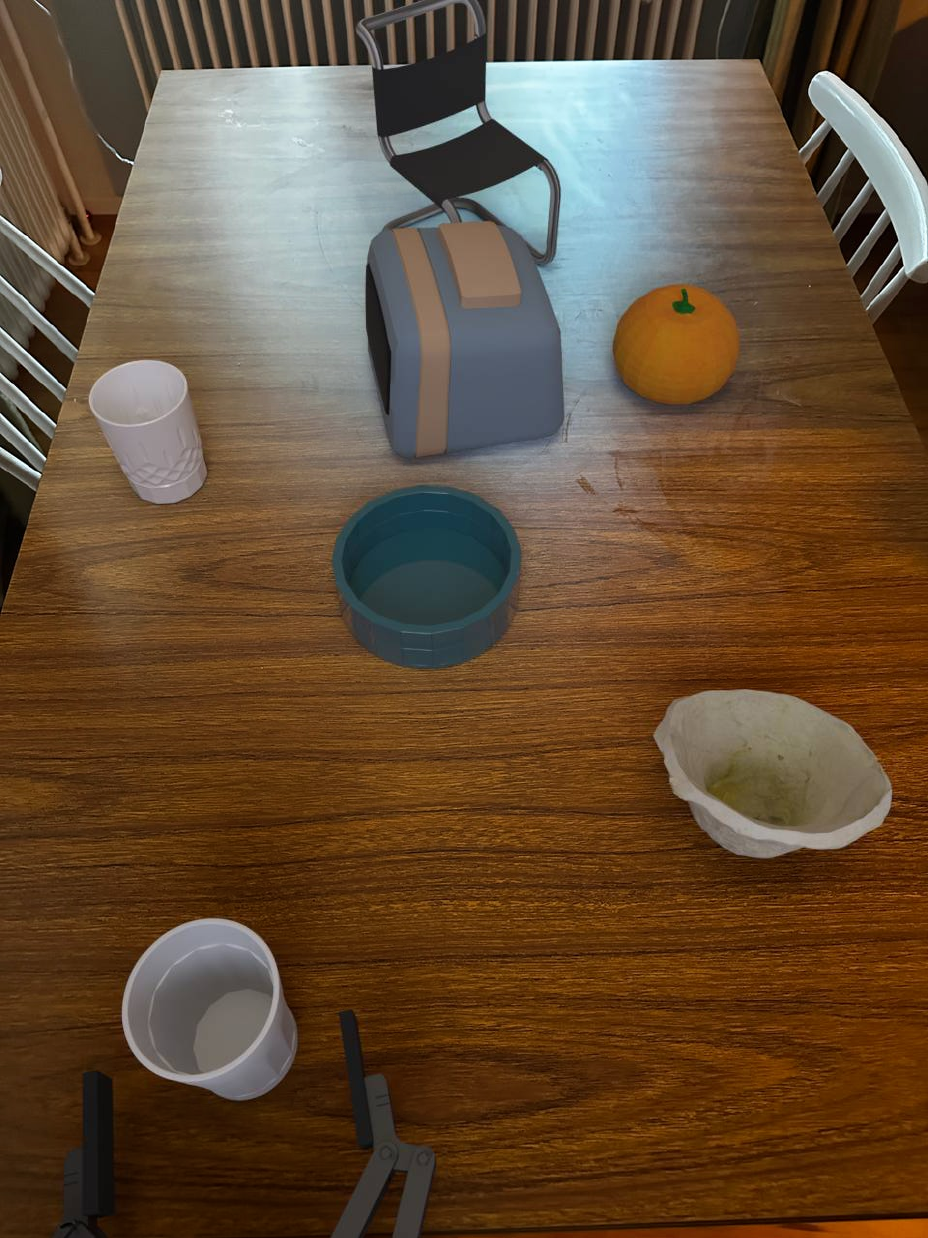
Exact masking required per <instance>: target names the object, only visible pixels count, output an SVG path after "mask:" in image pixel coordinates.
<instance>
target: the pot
mask: <svg viewBox="0 0 928 1238" xmlns="http://www.w3.org/2000/svg"><path fill="white" fill-rule="evenodd" d="M521 564H522V547H521V545H520V542H519V538H518V536H517V532H516V530H515V527H514V526H513V525H512V523H511V522H510V521H509V519H507V517H506V516H505V515H504V514H503V513H502V511H501V510H500V509H499V508H497V507H496V506H494V505H493V504H492V503H490V502H488V501H486V500H485V499H483V498H482V497H480V496H479V495H477V494H475V493H471V492H469V491H465V490H462V489H459V488H456V487H453V486H443V485H442V486H441V485H425V484H423V485H422V484H421V485H415V486H408V487H403V488H397V489H394V490H391V491H389V492H387V493H385V494H382V495H381V496H380V495H379V496H378V497H376V498H373V499H371V500H368V502H366V503H365V504H364V505H363V506H362V507H360V508H359V509H358V510H357V511H355V512H354V513H353V514H351V515H350V516H349V518H348V519H347V520H346V522H345V524H344V525H343V527H342V528H341V529H340V532H339V533H338V534H337V536H336V538H335V542H334V547H333V552H332V557H331V566H332V572H333V577H334V581H335V587H336V592H337V597H338V603H339V608H340V613H341V618H342V619H343V622H344V624H345V626H346V629H348V631H349V633H350V634H351V635H352V637H353V638H354V639H355V640H356V641H357V642H358V643H359V644H360V646H362V647H363V648H364V649H365V650H366V651H368V652H369V653H371V654H373V655H374V656H376V657H378V658H380V659H382V660H384V661H386V662H388V663H391V664H393V665H394V664H395V665H398V666H400V667H406V668H410V669H420V670H421V669H422V670H431V669H441V668H449V667H452V666H457V665H460V664H463V663H466V662H468V661H471V660H473V659H475V658H476V657H479V656H480V655H482V654H483V653H486V651H488V650H490V649H491V648H493V646H494V645H496V643H497V642H499V641H500V639H501V638H502V637H503V636H504V635H505V634H506V632H507V631H508V630H509V628H510V626H511V624H512V622H513V620H514V618H515V615H516V613H517V612H516V611H517V609H518V605H519V593H520V591H519V590H520V581H521V580H520V578H521Z"/></svg>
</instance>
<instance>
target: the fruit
mask: <svg viewBox="0 0 928 1238" xmlns="http://www.w3.org/2000/svg"><path fill="white" fill-rule="evenodd" d="M740 346H741V336H740V332H739V329H738V325H737V323H736V320H735V318H734V315H733V314H732V313H731V311H730V310H729V309H728V308H727V306H726V305H725V304H724V303H723V301H721V300H720V298H718V297H717V296H715V295H713V293H711V292H709V291H708V290H706V289H705V288H704V289H703V288H701V287H698V286H696V285H690V284H682V283H681V284H680V283H679V284H669V285H665V286H661V287H657V288H655V289H653V290H651V291H649V292H647V293H646V294H643V295H642V296H640V297H638V298H637V299H636V300H634V301H633V302H632V304H630V306H629V307H628V308H627V309H626V310H625V311H624V312H623V314H622V315H621V316H620V318H619V320H618V322H617V324H616V329H615V332H614V336H613V340H612V347H611V348H612V355H613V359H614V360H613V361H614V366H615V369H616V371H617V373H618V375H619V376H620V378H621V379H622V381H623V382H624V384H625V385H626V386H627V387H628V388H629V389H630V390H631V391H633V392H635V393H636V394H637V395H638V396H640V397H641V398H644V399H647V400H649V401H651V402H653V403H657V404H664V405H669V406H675V405H676V406H679V405H690V404H692V403H697V402H699V401H704V400H706V399H708V398H709V397H710V396H712V395H714V394H715V393H717V392H718V391H719V390H720V389H721V388H723V386H724V385H725V384H726V382H727V381H728V380H729V379H730V377H731V376H732V375H733V373H734V371H735V369H736V366H737V363H738V359H739V355H740V354H739V353H740Z"/></svg>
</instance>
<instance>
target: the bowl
mask: <svg viewBox="0 0 928 1238" xmlns="http://www.w3.org/2000/svg"><path fill="white" fill-rule="evenodd" d="M653 739H654V741H655V743H656V744H657V746H658V749H659V751H660V752H661V754H662V756H663V758H664V760H663V763H664V766H665V768H666V770H667V772H668V779H669V780H668V781H669V786H670V788H671V790H672V792H673V794H674V795H675V796H677V797H678V798H679V799H682V800H683V801H687V803H688V806H689V809H690V812H691V814H692V816H693V818H694V820H695V822H696V823H697V825H698V826H699V828H700V829H701V831H703V832H704V831H705V833H707V835H708V837H710V839H712V840H714V842H716V843H717V844H719V845H720V846H721V847H722V848H723V849H724V850H727V851H728V852H731V853H733V854H735V855H737V856H746V857H751V858H755V859H756V858H757V859H773V858H775V857H779V856H781V855H784V854H788V853H790V852H794V851H798V850H800V849H803V848H804V849H805V848H806V849H812V850H838V849H841V848H845V847H847V846H848V845H849V844H851V843H853V842H855V841H857V840H859V839H860V838H862V837H863V836H864V835H865V834H867V833H869V832H871V831H873V830H875V829H876V828H878V827H880V826H882V824H883V823H884V821H885V818H886V817H887V816H888V814H889V812H890V810H891V807H892V798H893V786H892V783H891V780H890V778H889V776H888V774H887V773H886V772H885V771H884V769H883V765H882V764H881V763H880V762H878V758H877V756H876V755H875V753H874V752H873V751H872V749H871V748H870V747H869V746H868V744H867V743H866V742H865V741H864V740H863V738H862V737H861V736H860V734H858V733H857V732H856V731H855V729H854V727H853V726H851V725H850V724H849V723H847V722H846V721H844V720H842V719H840V718H839V717H836V716H834V715H833V714H830V713H829V712H827V711H825V710H823V709H821V708H819V707H818V706H815V705H813V704H811V703H809V702H808V701H806V700H804V699H801V698H798V697H796V696H793V695H790V694H786V693H776V692H772V691H764V690H753V689H746V688H743V689H729V690H728V689H727V690H724V689H722V690H721V689H720V690H719V689H717V690H716V689H715V690H714V689H713V690H712V689H711V690H709V689H708V690H705V691H700V692H697V693H694V694H692V695H686V696H682V697H681V698H676V699H673V700H672V701H671V703H670V704H669V705H668V706H667V708H666V711H665V715H664V717H663V719H662V720H661V722H660V723H659V724H658V725H657V727H656V729H655V731H654V732H653Z"/></svg>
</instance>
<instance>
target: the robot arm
mask: <svg viewBox="0 0 928 1238" xmlns="http://www.w3.org/2000/svg"><path fill="white" fill-rule="evenodd" d="M338 1016H339V1024H340V1030H341V1037H342V1044H343V1052H344V1058H345V1066H346V1071H347V1079H348V1085H349V1093H350V1099H351V1100H350V1101H351V1106H352V1113H353V1120H354V1126H355V1133H356V1140H357V1146H358V1147H359V1148H360V1149H361V1150H362V1151H363V1152H364V1151H367V1150H371V1149H373V1152H372V1154H371V1156H370V1158H369V1160H368V1161H367V1164H366V1166H365V1168H364V1170H363V1171H362V1173H361V1176H360V1178H359V1180H358V1181H357V1184H356V1186H355V1188H354V1190H353V1192H352V1194H351V1196H350V1198H349V1200H348V1202H347V1204H346V1206H345V1208H344V1210H343V1212H342V1214H341V1216H340V1218H339V1219H338V1222H337V1224H336V1225H335V1228H334V1230H333V1231H332V1233H331V1235H330V1238H365V1236H366V1235H367V1232H368V1230H369V1228H370V1225H371V1224H372V1221H373V1219H374V1218H375V1215H376V1213H377V1211H378V1209H379V1207H380V1206H381V1203H382V1201H383V1199H384V1196H385V1195H386V1193H387V1190H388V1189H389V1187H390V1184H391V1182H392V1180H393V1178H394V1176H395V1175H396V1173H402V1174H406V1178H405V1182H404V1183H405V1184H404V1187H403V1191H402V1196H401V1199H400V1202H399V1203H400V1204H399V1207H398V1211H397V1215H396V1221H395V1224H394V1228H393V1231H392V1232H393V1233H392V1236H391V1238H421V1236H422V1233H423V1232H422V1231H423V1226H424V1222H425V1218H426V1215H427V1214H426V1213H427V1209H428V1206H429V1201H430V1196H431V1191H432V1188H433V1183H434V1178H435V1175H436V1174H435V1173H436V1169H437V1161H438V1160H437V1159H436V1155H435V1152H434V1150H433V1149H432V1148H431V1147H430V1146H428V1145H423V1144H422V1145H418V1144H410V1143H406V1142H403V1141H401V1140H400V1138H399V1137H398V1134H397V1128H396V1123H395V1116H394V1110H393V1105H392V1099H391V1093H390V1087H389V1084H388V1081H387V1079H386V1078H385V1077H384V1075H383V1073H382V1072H380V1073H376V1074H371V1075H368V1076H367V1074H366V1068H365V1062H364V1054H363V1049H362V1042H361V1035H360V1030H359V1029H360V1028H359V1022H358V1019H357V1016H356V1014H355V1011H354V1009H353V1008H352V1009H347V1010H343V1011H339V1012H338ZM81 1094H82V1096H81V1097H82V1100H81V1101H82V1103H81V1105H82V1106H81V1107H82V1108H81V1109H82V1111H81V1112H82V1115H81V1117H82V1123H81V1124H82V1126H81V1127H82V1131H81V1132H82V1133H81V1135H82V1137H81V1138H82V1141H81V1143H82V1146H81V1147H78V1148H72V1149H69V1150H67V1151H66V1154H65V1157H64V1160H63V1169H62V1170H63V1172H62V1173H63V1178H62V1180H63V1183H62V1184H63V1187H62V1219H61V1222H60V1223H59V1224H58V1225H57V1226H56V1227H55V1230H54V1233H53V1234H52V1235H51V1236H49V1237H48V1238H110V1237H109V1236H108V1235H107V1234H106V1233H105V1232H104V1231H103V1229H102V1228H101V1227H100V1226H99V1225H98V1219H103V1218H107V1217H111V1216H115V1215H116V1191H115V1190H116V1189H115V1187H116V1185H115V1183H116V1182H115V1181H116V1180H115V1139H114V1138H115V1130H114V1129H115V1127H114V1126H115V1125H114V1123H115V1122H114V1121H115V1120H114V1078H112V1077H110V1076H109V1075H107V1074H105V1073H103V1072H102V1071H99V1070H98V1069H95V1070H91V1071H87V1072H84V1073H83V1072H82V1093H81Z"/></svg>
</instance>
